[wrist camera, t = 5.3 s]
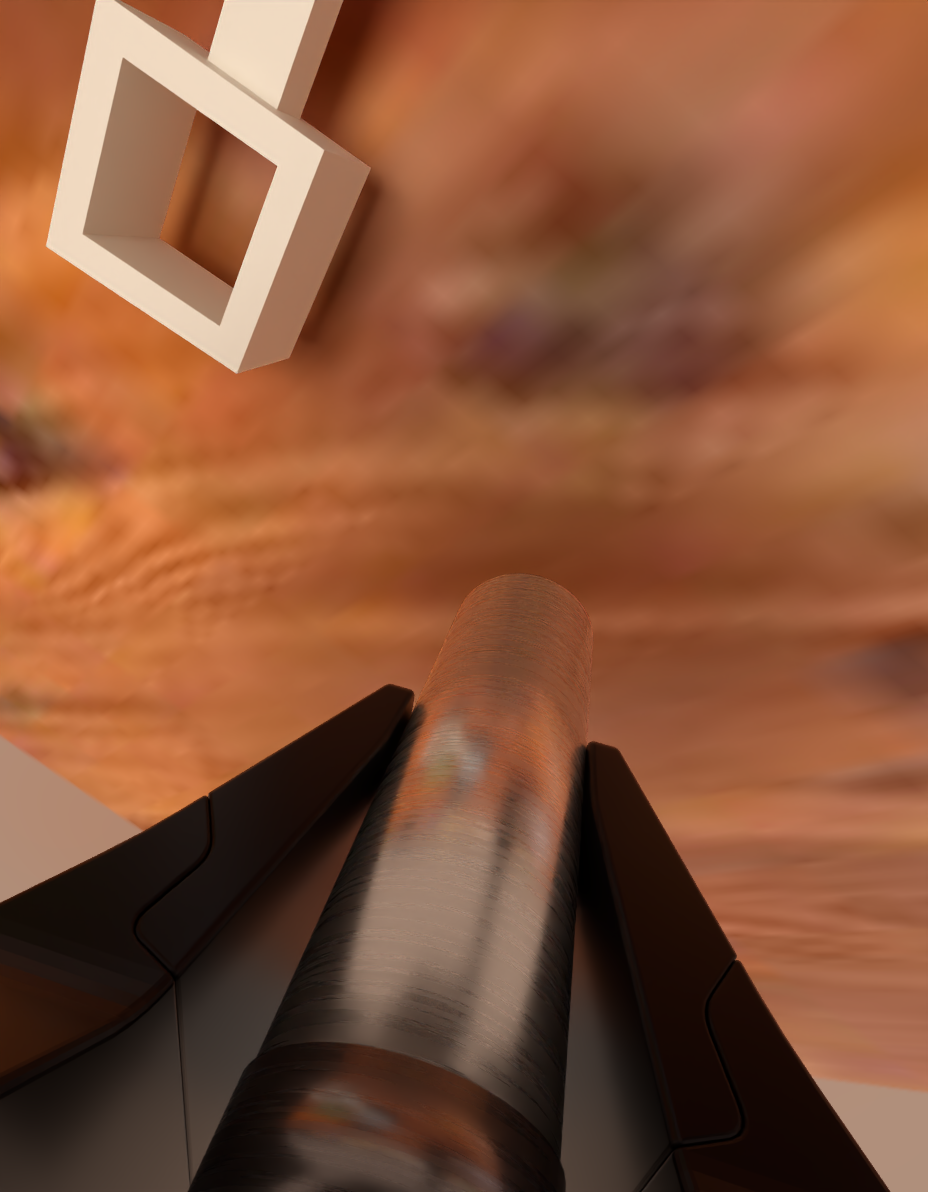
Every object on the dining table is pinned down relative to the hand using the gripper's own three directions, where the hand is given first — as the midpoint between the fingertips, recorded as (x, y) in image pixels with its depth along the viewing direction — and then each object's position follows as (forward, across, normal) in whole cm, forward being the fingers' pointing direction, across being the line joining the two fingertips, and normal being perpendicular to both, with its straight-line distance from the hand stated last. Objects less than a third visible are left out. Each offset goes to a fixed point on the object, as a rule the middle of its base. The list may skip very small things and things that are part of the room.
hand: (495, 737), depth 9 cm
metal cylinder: (+3, 0, 0) cm, 3 cm away
